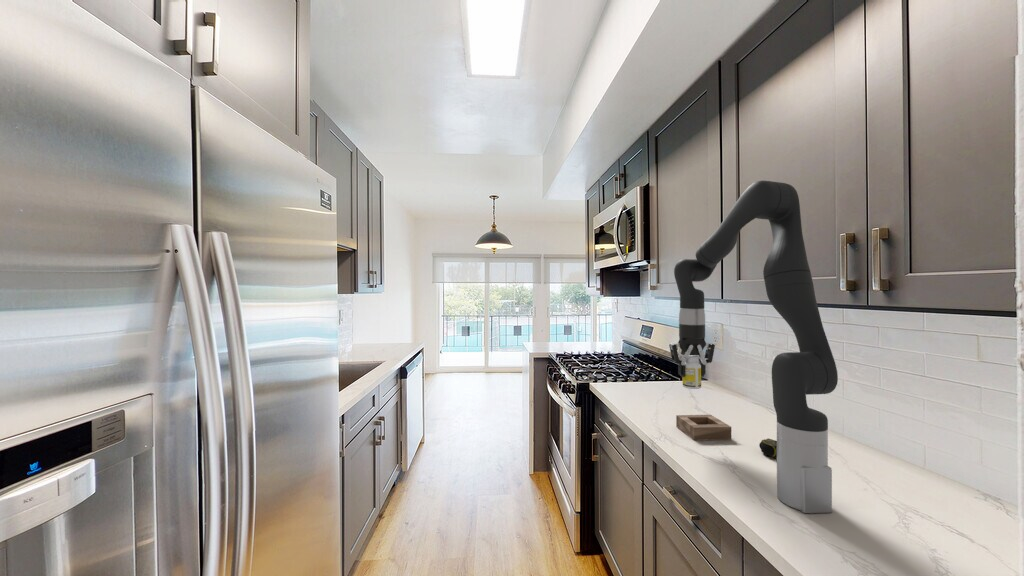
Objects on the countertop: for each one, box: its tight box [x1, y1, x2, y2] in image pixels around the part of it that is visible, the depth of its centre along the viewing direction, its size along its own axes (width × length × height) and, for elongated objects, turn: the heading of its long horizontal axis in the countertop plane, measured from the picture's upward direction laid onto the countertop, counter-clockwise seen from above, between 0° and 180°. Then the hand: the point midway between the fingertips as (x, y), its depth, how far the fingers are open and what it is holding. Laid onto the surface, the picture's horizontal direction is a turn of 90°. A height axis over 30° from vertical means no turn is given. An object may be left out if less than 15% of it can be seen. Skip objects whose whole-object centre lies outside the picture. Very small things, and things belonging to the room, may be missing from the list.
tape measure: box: [758, 438, 777, 459], centre depth 114 cm, size 7×7×4 cm
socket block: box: [675, 414, 732, 441], centre depth 131 cm, size 12×12×4 cm
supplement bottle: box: [682, 355, 702, 390], centre depth 126 cm, size 5×5×10 cm
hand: (691, 376), depth 126 cm, fingers closed on supplement bottle, 5 cm apart
